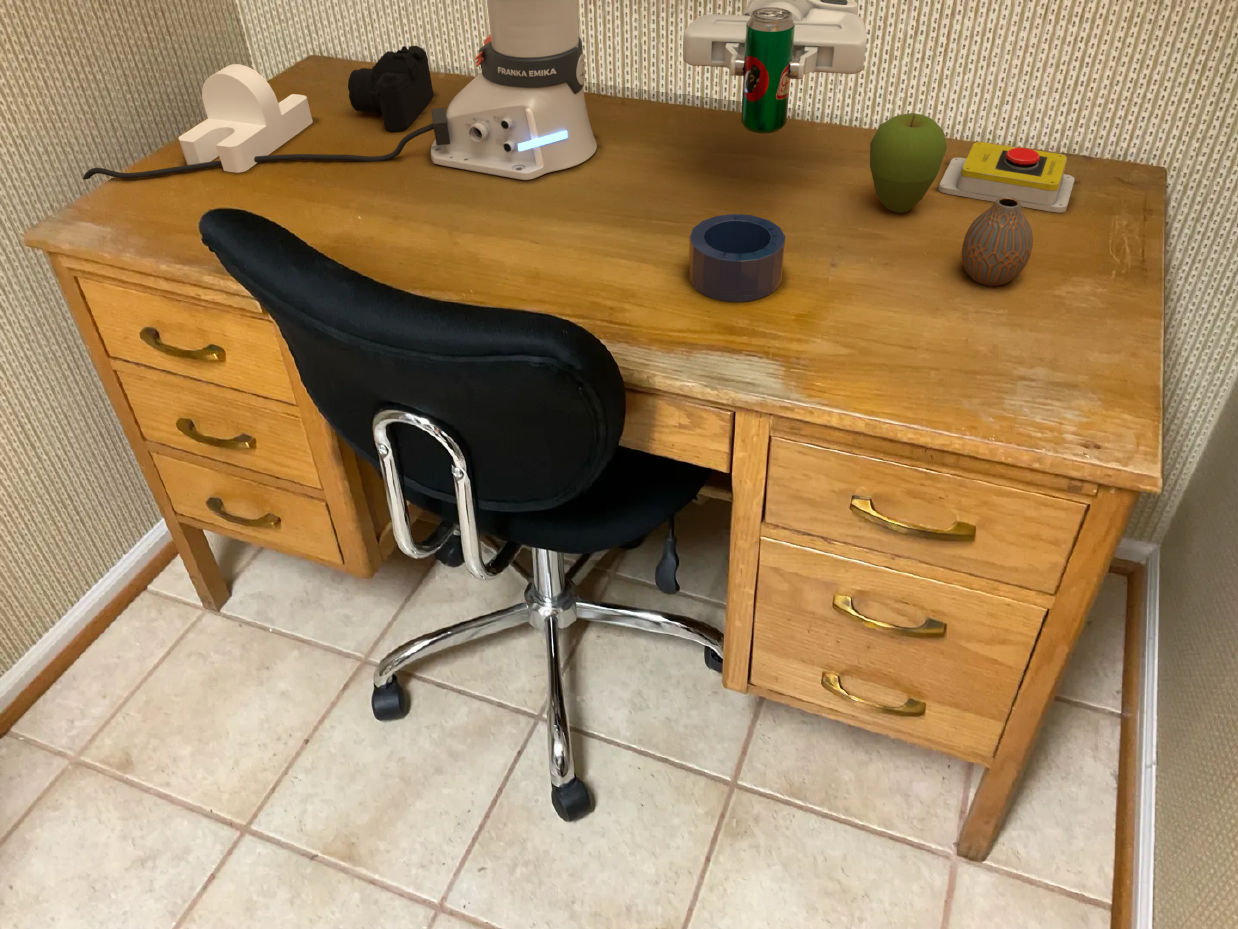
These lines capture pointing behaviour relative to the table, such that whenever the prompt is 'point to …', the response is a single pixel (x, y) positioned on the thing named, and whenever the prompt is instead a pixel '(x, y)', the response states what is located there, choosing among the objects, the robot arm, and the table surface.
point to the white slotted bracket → (242, 120)
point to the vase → (998, 243)
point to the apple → (906, 159)
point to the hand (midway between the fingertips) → (766, 70)
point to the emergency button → (1010, 176)
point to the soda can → (767, 69)
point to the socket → (736, 257)
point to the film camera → (393, 87)
